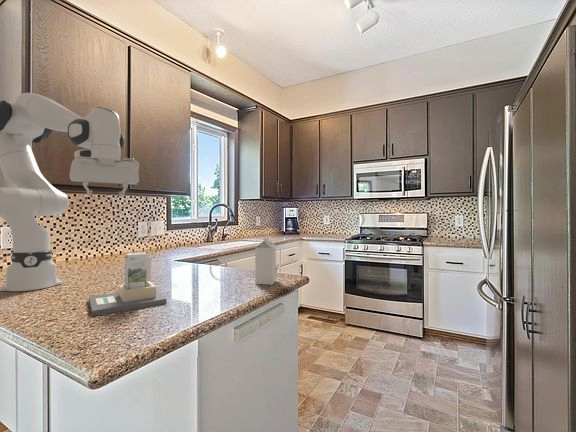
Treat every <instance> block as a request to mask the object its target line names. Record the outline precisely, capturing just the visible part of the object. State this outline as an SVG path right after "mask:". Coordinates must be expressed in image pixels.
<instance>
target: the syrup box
mask: <svg viewBox="0 0 576 432" xmlns="http://www.w3.org/2000/svg"><path fill="white" fill-rule="evenodd" d="M147 255H148V254H147V253H146V252H145V251H137V252H126V253H124V280H125V281H124V284H125V289H126V290H128V289H136V288H143V287H147V257H148V256H147Z"/></svg>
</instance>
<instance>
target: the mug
mask: <svg viewBox="0 0 576 432" xmlns="http://www.w3.org/2000/svg"><path fill="white" fill-rule="evenodd" d="M147 281H150V282H152V256H147Z"/></svg>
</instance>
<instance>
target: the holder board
mask: <svg viewBox="0 0 576 432" xmlns="http://www.w3.org/2000/svg"><path fill="white" fill-rule="evenodd" d="M88 302H89V308H90V311H91V316H92V317H95V316H100V315H101V316H102V315H107V314H113V313H119V312H125V311H130V310H135V309H136V310H137V309H142V308H148V307H153V306H158V305H159V306H160V305H166V304H167V298H166V297H165V296H164V295H163V294H162V293H160V292H159V291H158V290H157V286H156V285H155V284H154V283H153V282H152V281H151V282H150V281H147V287H143V288H136V289H128V290H126V289H125V283H124V284H118V291H117V292H112V293H105V294H98V295H96V294H95V295H90V296H88Z"/></svg>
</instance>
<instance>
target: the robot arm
mask: <svg viewBox="0 0 576 432" xmlns="http://www.w3.org/2000/svg"><path fill="white" fill-rule="evenodd" d="M53 131H57V132H64V133H67V135H68V136H67V137H68V139H69V141H70V142H71V143H72V144H73V145H74V146H76V147H80V148H83V149H78V150H76V151H74V159H73V160H72V162H71V165H70V170H69V179H70V181H72V182H82V186H83V187H84V189H85V191H86V196H91V197H92V196H93V190H92V189H90V188H89V187H88V185H89V183H102V184H103V183H104V184H119V185H122V188H123V189H122V191H119V192H118V194H119V195H118V196H119V197H123V198H124V197H125V192H126V190H127V189H128V188H129V185H138V184H139V182H140V175H139V170H140V162H139V161H138V160H136V159H135V158H132V157H131V158H129V157H128V158H127V157H121V156H122V154H121V153H122V152H121V151H122V150H123V149H124V147H125V145H126V144H125V141H126V140H125V137H124V134H123V133H122V130H121V122H120V116H119V115H118V113H117V112H116V111H114V110H112V109H109V108H106V107H102V106H94V107H92V108H91V110H90V111H89V113H88V114H86V116H83V117H81V116H80V115H78V114H76V113H75V112H73V111H71V110H70V109H69V108H66V107H65V106H64V105H62V104H60V103H58V102H57V101H55V100H53V99H51V98H50V97H47V96H44V95H43V94H42V95H41V94H39V93H34V92H23V93H21V94H19V95H18V96H17V97H16V100H15V101H14V103H9V102H7V100H1V101H0V133H1V132H2V133H1V134H0V170H1V172H2V175H3V176H2V177H4V179H5V180H6V181H7V182H8V183H10V184H12V185H15V186H6V187H5V186H4V187H0V217H1V219H3V220H4V221H5V222H6V224H7V225H8V227H9V228H10V231H11V232H10V233H11V235H12V236H11V237H12V252H11V256H10V258H11V259H10V261H11V264H9V266H8V267H6V268H5V285H3V286H1V287H0V292H26V291H28V292H29V291H35V290H40V289H42V290H43V289H47V288H50V287H53V286H59V285H62V284H63V283H64V282H63V280H62V279H60V278H58V277H57V276H58V272H57V264H56V263H55V262H53V261H52V258H53V253H52V250H51V232H50V230H49V229H48V228H46V227H45V226H44V225H40V224H39V223H38V222H37V220H36V217H47V216H48V217H52V216H58V215H62V214H64V213H66V211H68V209H69V205H70V200H69V197H68V196H67V194H65V192H63V191H61V190H59V189H58V188H56V187H54V185H53V184H51V183H50V182H49V181H48V180H47V179H46V177H44V175H43V173H42V172H41V170H40V167H39V166H38V163H37V160H36V157H35V154H34V152H33V150H32V147H31V145H32V143H34V144H39V143H41V142H42V141H44V140H46V139H48V138H49V137H50V136H51V135H52V134H53Z"/></svg>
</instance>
